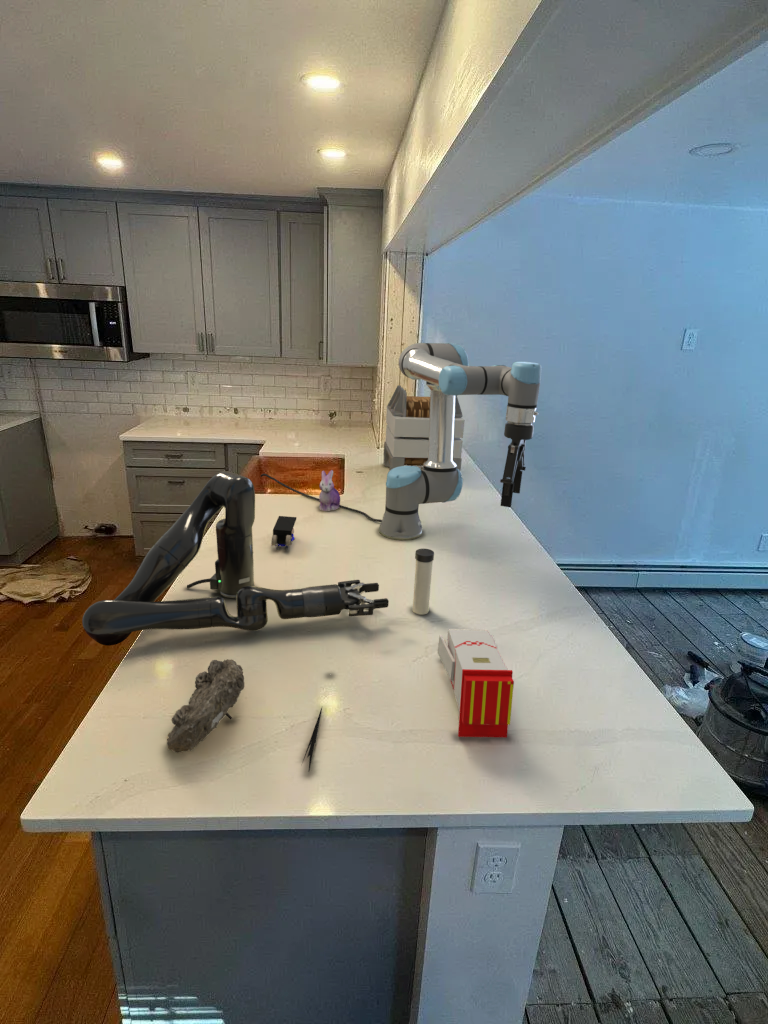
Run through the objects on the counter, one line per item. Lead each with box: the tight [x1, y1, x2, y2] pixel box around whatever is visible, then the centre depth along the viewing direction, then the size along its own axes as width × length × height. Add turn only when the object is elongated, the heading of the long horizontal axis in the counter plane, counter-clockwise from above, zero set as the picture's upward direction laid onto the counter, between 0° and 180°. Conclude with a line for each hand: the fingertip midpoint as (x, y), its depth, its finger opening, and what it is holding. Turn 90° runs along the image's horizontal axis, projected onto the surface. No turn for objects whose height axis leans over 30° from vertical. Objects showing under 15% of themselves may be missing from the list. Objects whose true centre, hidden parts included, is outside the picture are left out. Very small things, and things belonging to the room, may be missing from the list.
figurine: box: [318, 469, 341, 512], centre depth 220 cm, size 9×10×15 cm
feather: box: [301, 673, 332, 771], centre depth 108 cm, size 2×28×2 cm
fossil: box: [166, 658, 245, 754], centre depth 106 cm, size 22×10×15 cm
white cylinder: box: [412, 559, 434, 616], centre depth 147 cm, size 4×4×16 cm
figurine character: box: [270, 515, 297, 551], centre depth 186 cm, size 7×8×15 cm
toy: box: [437, 628, 515, 738], centre depth 117 cm, size 12×13×30 cm
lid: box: [414, 548, 435, 562], centre depth 144 cm, size 5×5×2 cm
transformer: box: [383, 384, 465, 473], centre depth 268 cm, size 34×33×41 cm
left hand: (383, 594), depth 144 cm, fingers open, 8 cm apart
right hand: (510, 499), depth 157 cm, fingers open, 13 cm apart
